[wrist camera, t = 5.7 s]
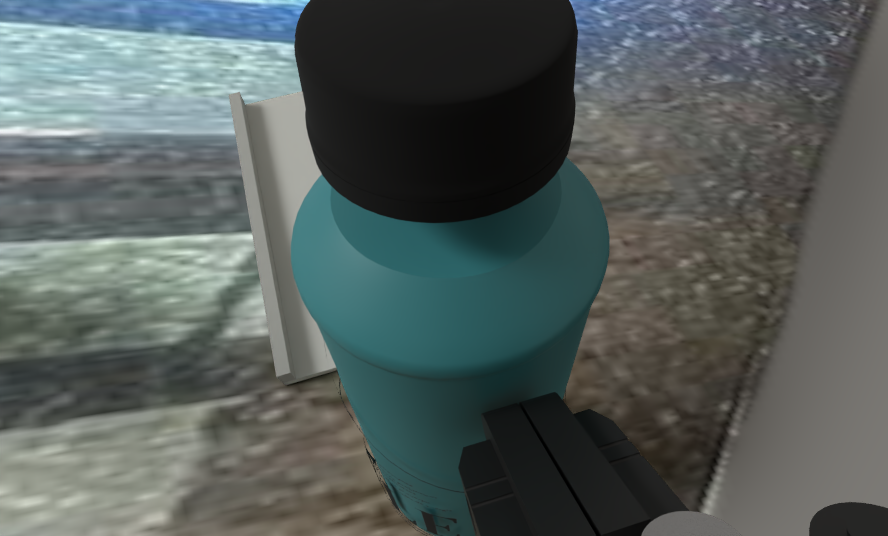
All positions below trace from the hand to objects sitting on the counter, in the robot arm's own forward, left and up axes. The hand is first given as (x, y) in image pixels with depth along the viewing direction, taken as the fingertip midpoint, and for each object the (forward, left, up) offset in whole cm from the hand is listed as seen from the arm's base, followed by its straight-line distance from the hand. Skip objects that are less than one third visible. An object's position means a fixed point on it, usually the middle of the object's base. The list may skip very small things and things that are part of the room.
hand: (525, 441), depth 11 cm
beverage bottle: (+1, +1, -13) cm, 14 cm away
